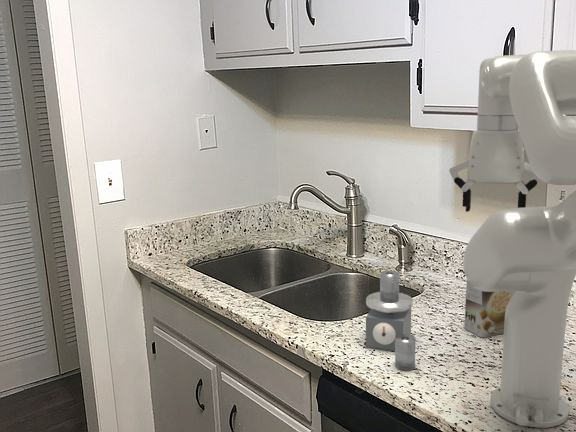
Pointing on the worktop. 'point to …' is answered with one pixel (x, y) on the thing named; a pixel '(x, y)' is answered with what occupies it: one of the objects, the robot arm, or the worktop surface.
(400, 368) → the cylinder
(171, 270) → the worktop surface
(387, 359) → the worktop surface
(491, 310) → the printed food package
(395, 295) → the cylinder
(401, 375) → the worktop surface
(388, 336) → the scale
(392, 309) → the pan
